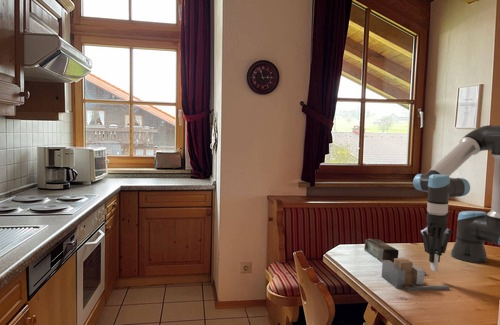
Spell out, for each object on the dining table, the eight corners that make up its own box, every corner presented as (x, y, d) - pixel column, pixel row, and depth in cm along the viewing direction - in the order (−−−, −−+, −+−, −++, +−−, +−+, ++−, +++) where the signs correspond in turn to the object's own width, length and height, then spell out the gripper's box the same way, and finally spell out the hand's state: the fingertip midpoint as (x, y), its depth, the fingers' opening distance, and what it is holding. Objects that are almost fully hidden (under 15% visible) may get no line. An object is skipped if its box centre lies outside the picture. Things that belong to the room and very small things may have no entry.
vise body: (424, 273, 161) (425, 257, 160) (449, 289, 145) (450, 271, 144) (379, 274, 158) (380, 258, 157) (399, 291, 142) (401, 273, 141)
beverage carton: (378, 250, 192) (379, 237, 192) (398, 263, 174) (399, 249, 173) (363, 250, 191) (364, 237, 191) (382, 263, 172) (383, 249, 172)
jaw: (406, 276, 157) (407, 259, 156) (423, 288, 145) (424, 270, 145) (399, 276, 157) (400, 259, 156) (416, 288, 145) (417, 270, 144)
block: (392, 280, 152) (394, 258, 152) (404, 279, 153) (405, 258, 152) (399, 285, 147) (400, 262, 147) (411, 284, 148) (412, 262, 147)
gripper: (445, 210, 156) (442, 265, 158) (416, 211, 154) (413, 267, 156) (458, 214, 148) (454, 272, 150) (427, 215, 146) (424, 274, 148)
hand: (433, 269), depth 153 cm, fingers closed
